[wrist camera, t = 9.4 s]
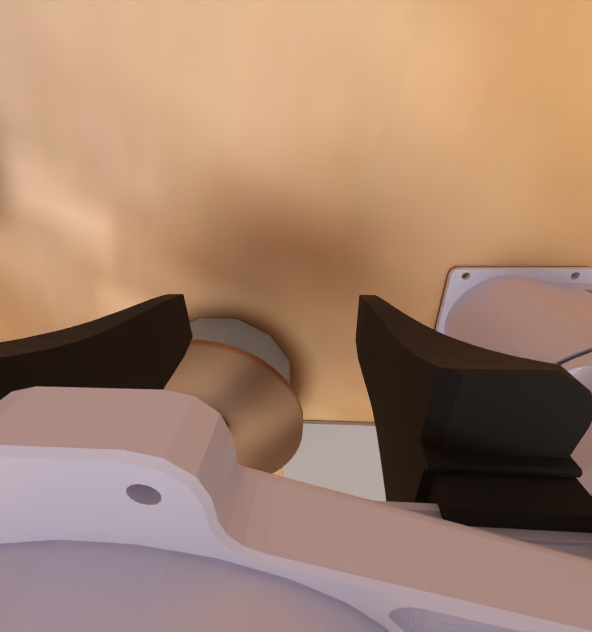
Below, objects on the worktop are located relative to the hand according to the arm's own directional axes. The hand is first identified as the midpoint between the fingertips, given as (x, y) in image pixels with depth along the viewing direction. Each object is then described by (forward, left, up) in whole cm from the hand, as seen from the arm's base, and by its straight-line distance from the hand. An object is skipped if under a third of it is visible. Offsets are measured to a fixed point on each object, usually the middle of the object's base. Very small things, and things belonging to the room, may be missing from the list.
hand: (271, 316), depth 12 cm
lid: (+6, +11, -5) cm, 14 cm away
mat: (-7, +25, -9) cm, 28 cm away
